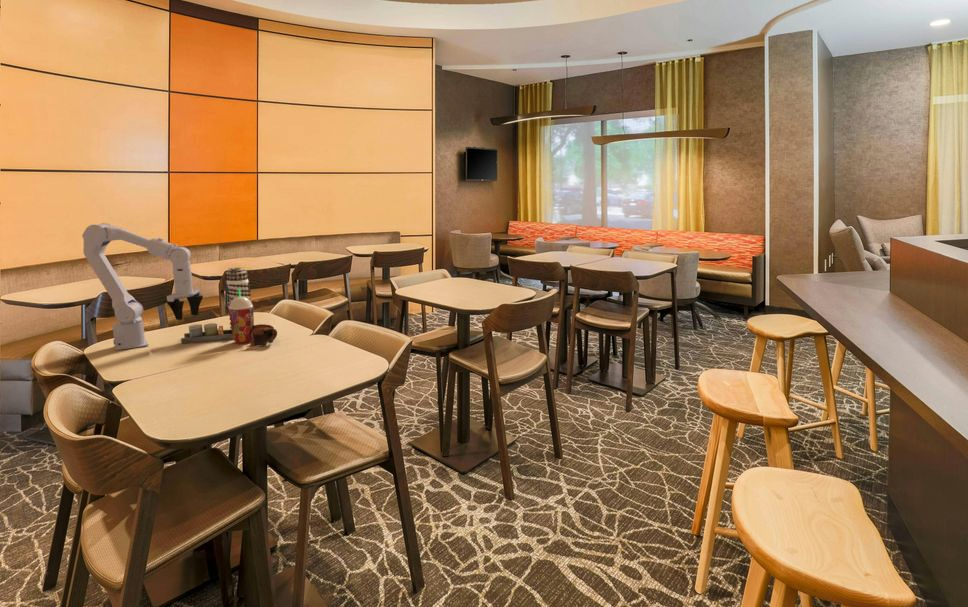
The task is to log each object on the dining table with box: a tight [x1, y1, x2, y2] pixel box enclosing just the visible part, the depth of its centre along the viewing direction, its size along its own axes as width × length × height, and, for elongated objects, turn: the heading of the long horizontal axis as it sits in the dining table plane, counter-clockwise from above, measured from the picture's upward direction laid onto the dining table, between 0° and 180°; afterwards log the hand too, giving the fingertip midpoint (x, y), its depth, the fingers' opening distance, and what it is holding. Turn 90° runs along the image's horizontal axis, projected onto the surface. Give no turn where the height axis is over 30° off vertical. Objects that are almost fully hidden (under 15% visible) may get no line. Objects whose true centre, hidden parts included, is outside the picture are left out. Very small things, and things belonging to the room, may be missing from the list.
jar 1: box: [188, 323, 204, 337], centre depth 199 cm, size 4×4×5 cm
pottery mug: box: [249, 323, 278, 347], centre depth 195 cm, size 12×10×8 cm
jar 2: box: [203, 322, 219, 336], centre depth 200 cm, size 4×4×5 cm
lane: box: [180, 328, 234, 345], centre depth 200 cm, size 18×8×4 cm, turn 111°
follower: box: [217, 325, 224, 335], centre depth 202 cm, size 1×6×4 cm, turn 21°
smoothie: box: [227, 289, 255, 345], centre depth 194 cm, size 8×8×20 cm
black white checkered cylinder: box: [225, 267, 252, 330], centre depth 213 cm, size 9×9×25 cm
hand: (187, 317), depth 196 cm, fingers open, 7 cm apart
